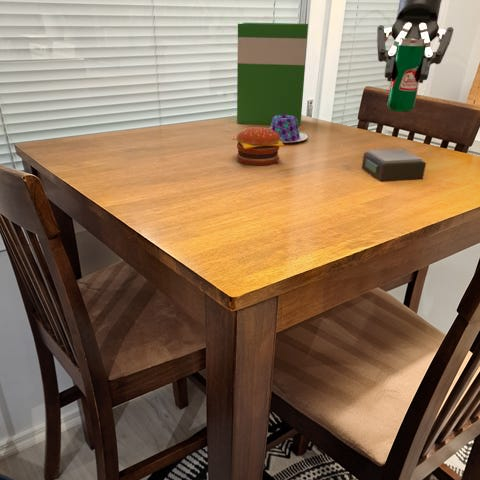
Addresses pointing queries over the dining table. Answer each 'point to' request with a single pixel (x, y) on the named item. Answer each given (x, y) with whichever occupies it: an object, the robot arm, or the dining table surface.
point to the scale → (393, 165)
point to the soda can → (406, 74)
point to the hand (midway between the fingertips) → (405, 78)
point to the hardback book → (270, 71)
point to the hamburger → (258, 146)
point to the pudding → (287, 129)
